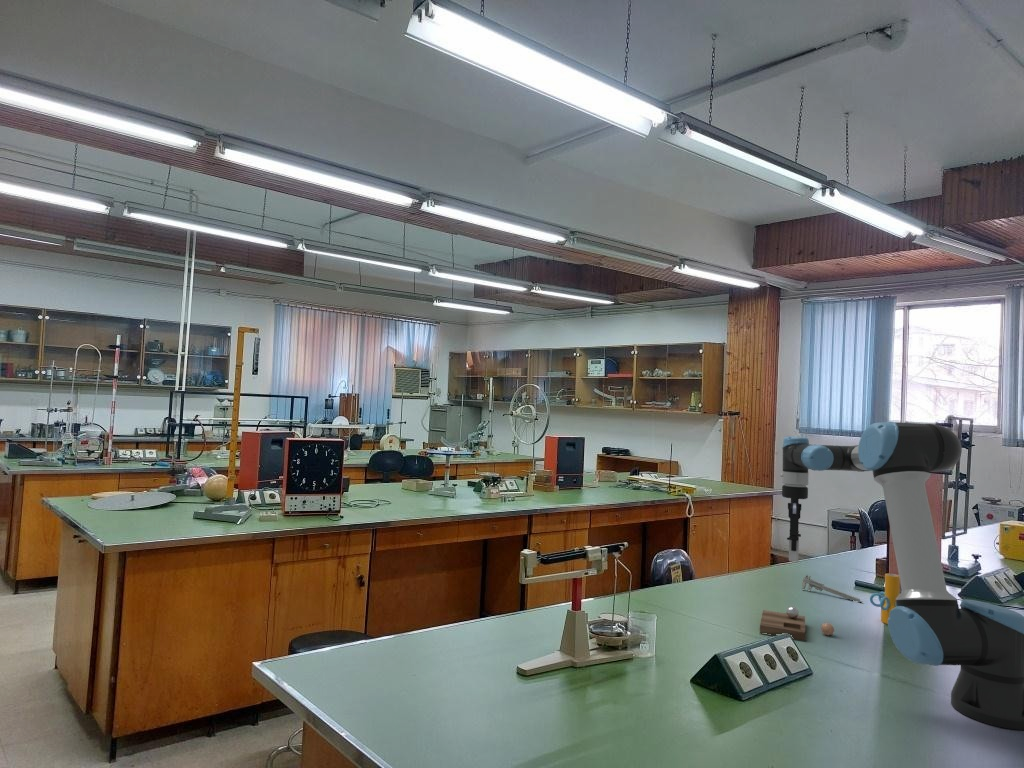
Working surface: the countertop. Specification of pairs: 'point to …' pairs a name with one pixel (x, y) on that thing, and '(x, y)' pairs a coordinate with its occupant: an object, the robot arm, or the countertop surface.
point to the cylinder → (888, 596)
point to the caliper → (825, 588)
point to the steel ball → (792, 612)
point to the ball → (827, 629)
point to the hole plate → (782, 624)
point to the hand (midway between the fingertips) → (793, 559)
